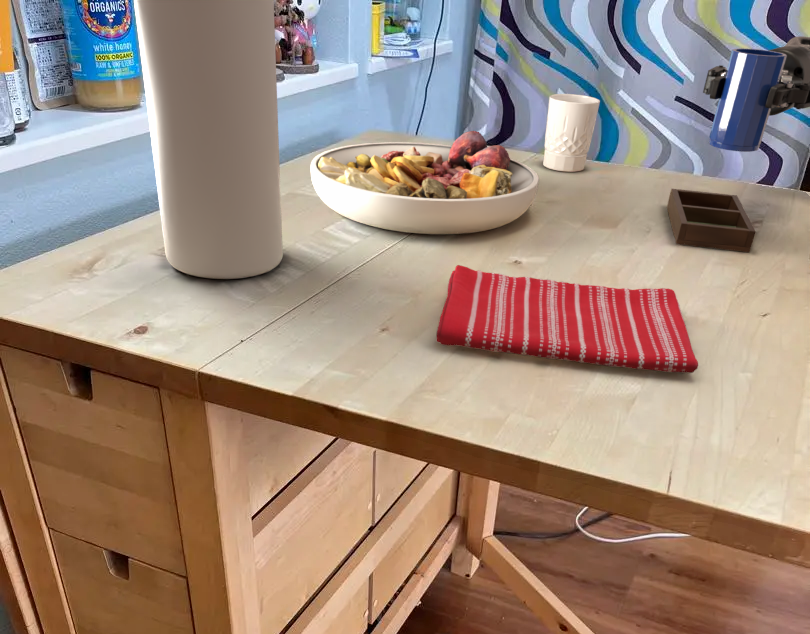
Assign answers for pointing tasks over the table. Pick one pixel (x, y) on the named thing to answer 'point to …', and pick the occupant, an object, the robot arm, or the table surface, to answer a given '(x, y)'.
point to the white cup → (569, 131)
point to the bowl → (425, 185)
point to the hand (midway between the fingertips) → (742, 93)
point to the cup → (745, 99)
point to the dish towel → (566, 321)
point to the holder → (710, 220)
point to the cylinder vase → (214, 132)
